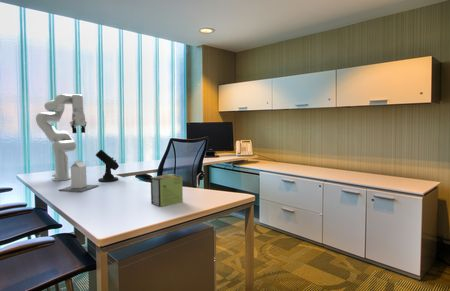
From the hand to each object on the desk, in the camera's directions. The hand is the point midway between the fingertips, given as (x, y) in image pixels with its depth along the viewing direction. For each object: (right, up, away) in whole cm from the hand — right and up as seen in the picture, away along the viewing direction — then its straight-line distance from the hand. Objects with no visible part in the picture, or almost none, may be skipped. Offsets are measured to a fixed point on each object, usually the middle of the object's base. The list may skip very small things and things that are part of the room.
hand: (78, 133), depth 229 cm
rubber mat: (+10, -40, -19) cm, 45 cm away
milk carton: (+9, -40, -19) cm, 45 cm away
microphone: (+19, -38, +10) cm, 43 cm away
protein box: (+79, -43, -55) cm, 105 cm away
